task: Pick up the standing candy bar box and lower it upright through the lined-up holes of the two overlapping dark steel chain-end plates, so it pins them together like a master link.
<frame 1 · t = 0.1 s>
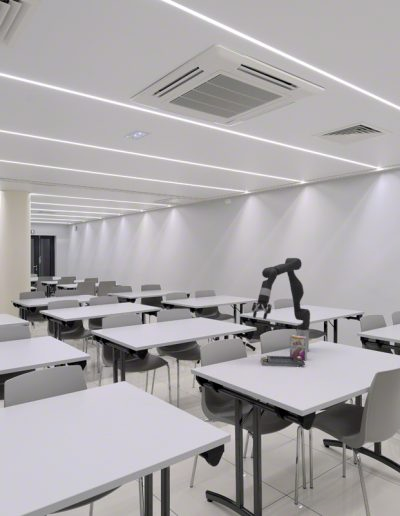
hand: (259, 318, 266), 31 cm above the table, tool tilted 20°, fingers open, 8 cm apart
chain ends: (282, 363, 270), on the table
candy bar box: (298, 359, 282), on the table
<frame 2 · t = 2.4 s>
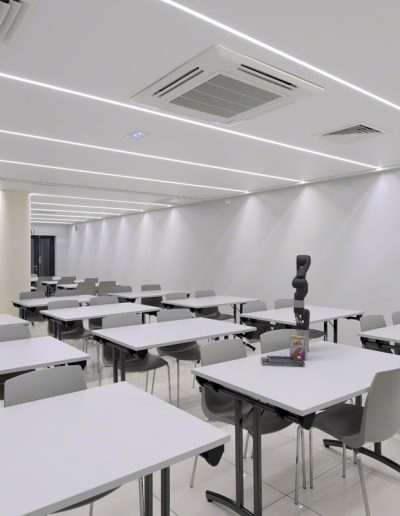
hand: (298, 328, 282), 22 cm above the table, tool pointing down, fingers open, 8 cm apart
nothing on the table moved.
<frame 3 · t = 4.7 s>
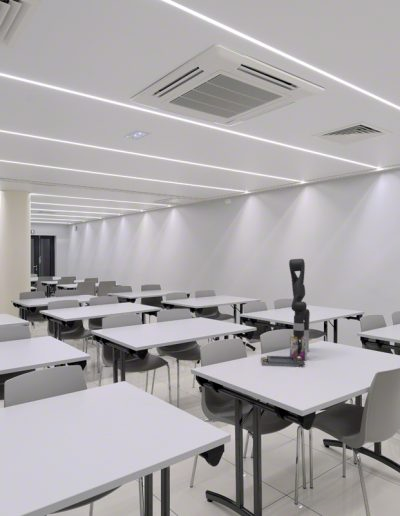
hand: (298, 352, 282), 5 cm above the table, tool pointing down, fingers closed on candy bar box, 6 cm apart
candy bar box: (298, 359, 282), on the table, touching gripper
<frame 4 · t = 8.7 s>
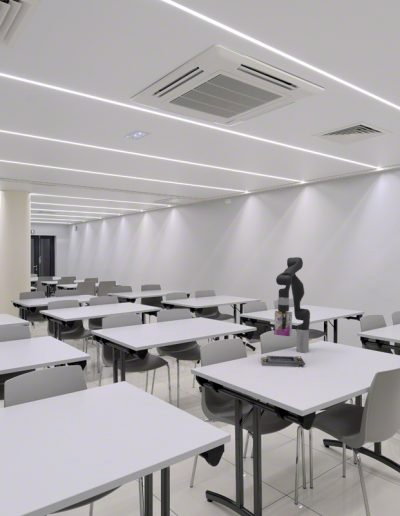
hand: (283, 328, 270), 24 cm above the table, tool pointing down, fingers closed on candy bar box, 6 cm apart
candy bar box: (282, 335, 270), point 19 cm above the table, touching gripper
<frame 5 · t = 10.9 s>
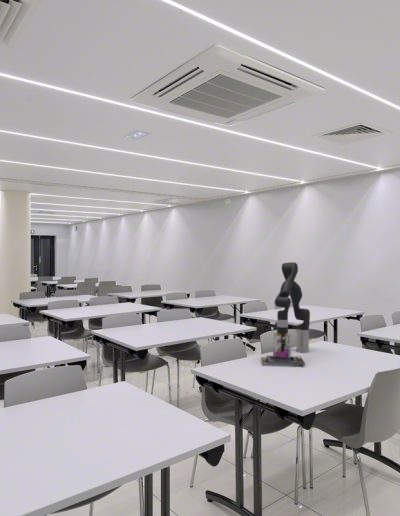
hand: (282, 349, 270), 9 cm above the table, tool pointing down, fingers closed on candy bar box, 6 cm apart
candy bar box: (282, 357, 270), point 4 cm above the table, touching gripper
when the fingers open (6 cm above the table, at t = 12.7 s): candy bar box drops 1 cm, resting in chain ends.
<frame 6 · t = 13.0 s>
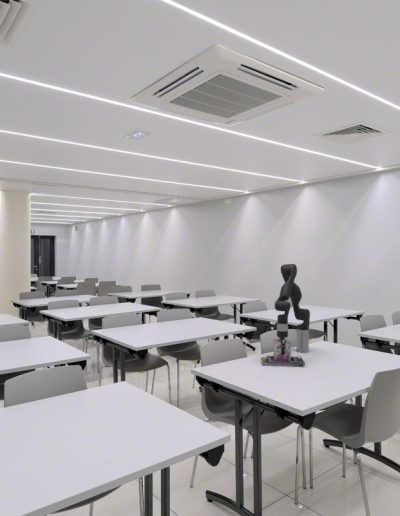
hand: (282, 353, 270), 7 cm above the table, tool pointing down, fingers open, 8 cm apart
candy bar box: (282, 363, 270), resting in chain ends
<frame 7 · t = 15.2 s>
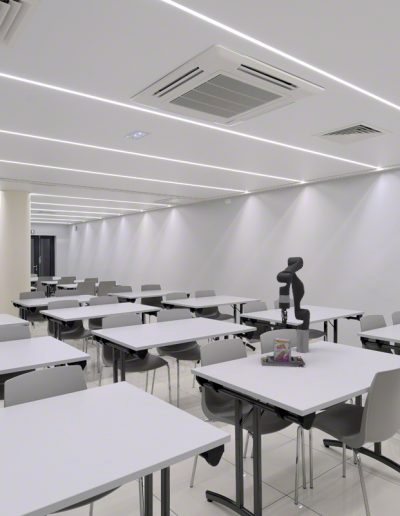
hand: (284, 324, 271), 26 cm above the table, tool pointing down, fingers open, 8 cm apart
nothing on the table moved.
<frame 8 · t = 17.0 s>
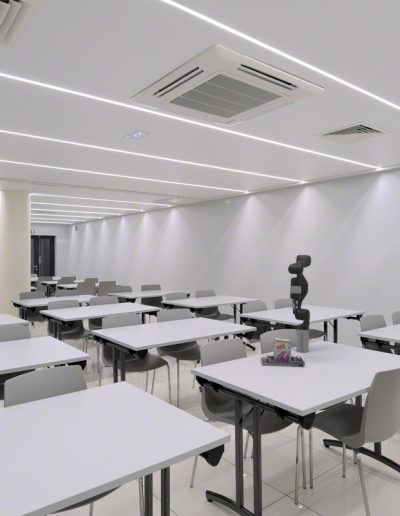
hand: (295, 315, 279), 32 cm above the table, tool pointing down, fingers open, 8 cm apart
nothing on the table moved.
at the end: candy bar box inside the target area on the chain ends (0.1 cm from its centre), point 0.0 cm above the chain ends's base; candy bar box tilted 0°; the gripper is holding nothing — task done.
